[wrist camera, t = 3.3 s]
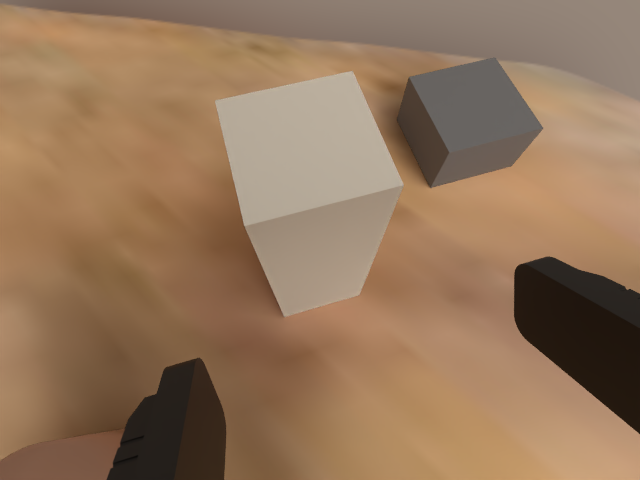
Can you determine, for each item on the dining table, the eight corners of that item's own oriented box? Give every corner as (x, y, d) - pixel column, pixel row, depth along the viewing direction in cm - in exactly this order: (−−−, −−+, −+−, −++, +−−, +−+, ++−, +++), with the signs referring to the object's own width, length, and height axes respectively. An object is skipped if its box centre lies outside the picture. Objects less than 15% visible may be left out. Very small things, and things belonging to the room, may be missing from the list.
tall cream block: (284, 317, 21) (244, 226, 10) (266, 246, 22) (215, 100, 11) (359, 295, 21) (403, 185, 10) (336, 228, 23) (352, 70, 12)
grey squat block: (429, 189, 24) (449, 152, 20) (396, 121, 26) (409, 76, 23) (510, 167, 25) (543, 128, 21) (471, 103, 27) (495, 57, 23)
